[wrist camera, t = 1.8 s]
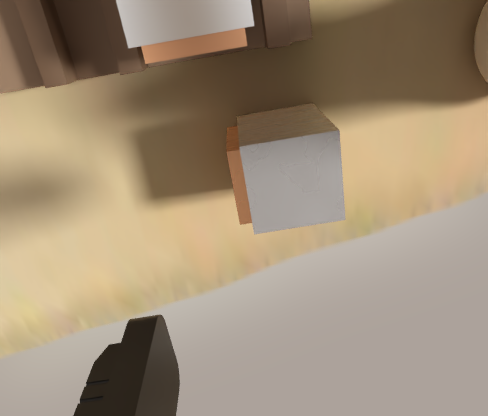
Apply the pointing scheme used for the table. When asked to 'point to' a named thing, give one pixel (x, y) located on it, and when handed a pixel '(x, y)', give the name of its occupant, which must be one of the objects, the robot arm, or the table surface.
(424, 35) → the table surface
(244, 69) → the table surface
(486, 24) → the plastic bottle
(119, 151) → the table surface
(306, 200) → the wood-topped grey cube
